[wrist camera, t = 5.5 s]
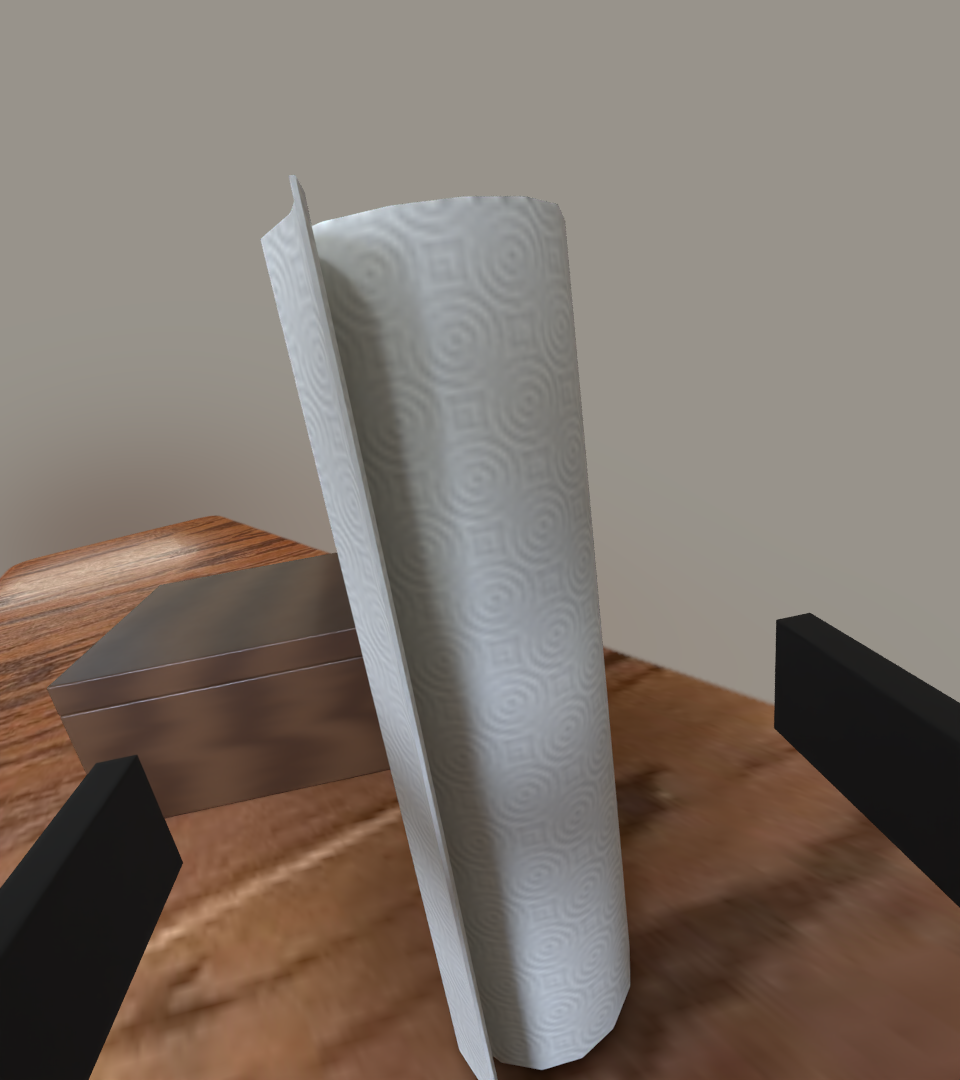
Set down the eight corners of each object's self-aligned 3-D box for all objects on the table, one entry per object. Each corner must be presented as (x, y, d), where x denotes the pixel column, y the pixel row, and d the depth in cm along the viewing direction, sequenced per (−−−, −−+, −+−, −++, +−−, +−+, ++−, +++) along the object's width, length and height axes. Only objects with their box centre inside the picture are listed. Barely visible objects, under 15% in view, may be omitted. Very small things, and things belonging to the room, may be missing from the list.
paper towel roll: (529, 850, 22) (436, 261, 15) (670, 953, 18) (626, 191, 11) (378, 1000, 18) (154, 264, 11) (515, 1187, 13) (285, 151, 7)
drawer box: (429, 645, 39) (407, 539, 37) (439, 759, 28) (409, 616, 25) (198, 691, 38) (159, 584, 36) (111, 830, 27) (45, 688, 24)
